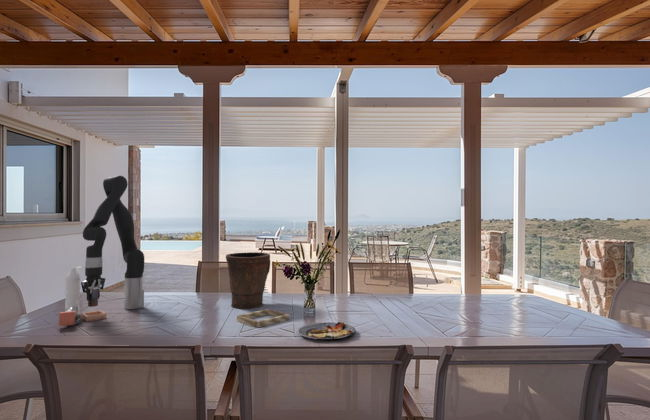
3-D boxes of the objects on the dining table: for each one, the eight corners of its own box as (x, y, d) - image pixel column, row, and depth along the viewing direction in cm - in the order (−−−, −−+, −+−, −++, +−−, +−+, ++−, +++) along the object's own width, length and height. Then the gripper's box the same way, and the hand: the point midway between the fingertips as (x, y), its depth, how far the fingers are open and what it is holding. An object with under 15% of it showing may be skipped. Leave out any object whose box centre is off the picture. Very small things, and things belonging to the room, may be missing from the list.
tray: (100, 315, 204) (100, 310, 204) (106, 318, 197) (106, 313, 197) (80, 318, 197) (80, 313, 197) (86, 321, 191) (86, 316, 191)
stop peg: (96, 304, 201) (96, 284, 201) (99, 305, 197) (99, 286, 198) (86, 305, 197) (87, 285, 198) (89, 307, 194) (89, 287, 194)
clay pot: (282, 302, 234) (282, 252, 234) (248, 312, 209) (248, 256, 210) (251, 297, 247) (251, 250, 248) (216, 306, 223) (216, 254, 223)
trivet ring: (268, 313, 208) (268, 308, 208) (290, 319, 196) (290, 314, 196) (235, 320, 193) (235, 315, 193) (257, 327, 180) (257, 322, 180)
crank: (65, 319, 190) (65, 307, 190) (79, 318, 192) (80, 306, 192) (59, 326, 179) (59, 313, 179) (74, 324, 181) (74, 311, 181)
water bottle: (73, 317, 199) (73, 268, 199) (61, 317, 200) (62, 268, 200) (85, 313, 207) (86, 266, 208) (74, 312, 208) (75, 266, 209)
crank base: (79, 319, 195) (79, 317, 195) (84, 322, 189) (84, 320, 189) (58, 322, 189) (58, 320, 189) (63, 326, 183) (63, 324, 183)
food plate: (352, 325, 183) (352, 318, 183) (358, 342, 160) (358, 333, 160) (299, 328, 182) (299, 320, 182) (298, 345, 159) (297, 336, 159)
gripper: (98, 264, 206) (97, 296, 205) (76, 267, 192) (75, 302, 191) (110, 264, 204) (109, 297, 204) (89, 268, 190) (88, 303, 190)
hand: (93, 299), depth 197 cm, fingers closed on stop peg, 4 cm apart
